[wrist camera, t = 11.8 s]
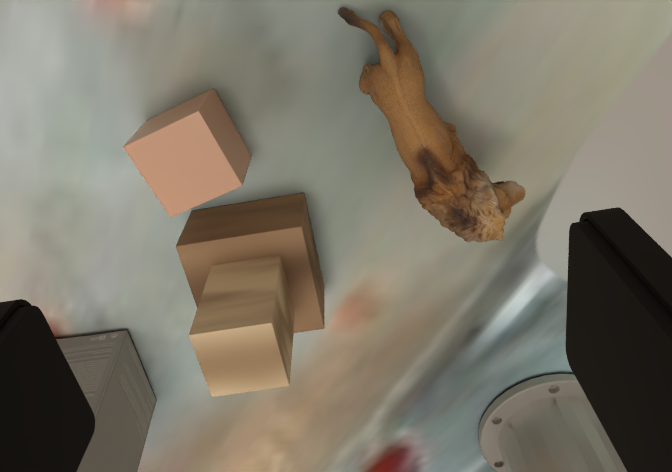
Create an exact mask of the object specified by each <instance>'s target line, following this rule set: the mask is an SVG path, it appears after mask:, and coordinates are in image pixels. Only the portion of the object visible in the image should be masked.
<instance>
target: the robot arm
mask: <svg viewBox="0 0 672 472" xmlns="http://www.w3.org/2000/svg"><path fill="white" fill-rule="evenodd" d="M566 354H567V358H568V362H569V365H570V367H571V369H572V371H573V373H574V374H554V375H545V376H541V377H537V378H533V379H530V380H528V381H525V382H523V383H520V384H518V385H516V386H514V387H513V388H511V389H509V390H507V391H506V392H505V393H503V394H502V395H501V396H499V397H498V398H497V399H496V400H495V401H494V402H493V403H492V404H491V405H490V406H489V408H488V409H487V410H486V412H485V414H484V415H483V417H482V419H481V422H480V425H479V432H478V439H479V444H480V448H481V451H482V454H483V456H484V458H485V460H486V461H487V463H488V464H489V465H490V466H491V467H492V468H493V469H494V470H495V471H496V472H672V258H671V256H670V255H668V254H667V253H666V252H665V251H664V250H663V249H662V248H661V247H660V246H659V245H658V244H657V243H656V242H655V241H654V240H653V239H652V238H651V237H650V236H649V235H648V234H647V233H646V232H645V231H644V230H643V229H642V228H641V227H640V226H639V225H638V224H637V223H636V222H635V221H634V220H633V219H632V218H631V217H630V216H629V215H628V214H627V213H626V212H625V211H624V210H622V209H621V208H611V209H605V210H599V211H592V212H585V213H583V214H582V215H581V218H580V221H579V222H576V223H572V224H571V226H570V231H569V259H568V290H567V322H566ZM94 430H95V416H94V413H93V411H92V409H91V407H90V405H89V403H88V401H87V399H86V397H85V395H84V393H83V391H82V389H81V387H80V385H79V383H78V381H77V379H76V377H75V376H74V374H73V372H72V370H71V368H70V366H69V364H68V362H67V360H66V358H65V356H64V354H63V352H62V350H61V348H60V346H59V344H58V342H57V340H56V338H55V336H54V335H53V333H52V331H51V329H50V327H49V325H48V323H47V321H46V319H45V317H44V315H43V313H42V312H41V310H40V309H39V308H38V307H37V306H31V304H30V303H29V302H27V301H26V300H22V299H20V300H13V301H7V302H0V472H77V470H78V467H79V465H80V463H81V461H82V458H83V456H84V454H85V452H86V449H87V447H88V445H89V443H90V441H91V438H92V436H93V434H94Z"/></svg>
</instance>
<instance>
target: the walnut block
mask: <svg viewBox="0 0 672 472" xmlns="http://www.w3.org/2000/svg"><path fill="white" fill-rule="evenodd" d="M176 248H177V251H178V254H179V257H180V260H181V263H182V265H183V268H184V271H185V274H186V277H187V280H188V283H189V285H190V288H191V291H192V294H193V297H194V300H195V303H196V305H197V308H198V306H199V302H200V299H201V296H202V293H203V290H204V287H205V284H206V281H207V278H208V275H209V272H210V269H211V266H213V265H219V264H226V263H232V262H238V261H245V260H251V259H257V258H264V257H270V256H276V255H281V259H282V263H283V267H284V271H285V275H286V278H287V282H288V286H289V290H290V294H291V298H292V302H293V306H294V310H295V318H294V331H293V333H297V332H304V331H311V330H318V329H324V284H323V279H322V274H321V270H320V265H319V260H318V256H317V251H316V246H315V242H314V237H313V232H312V228H311V223H310V218H309V214H308V209H307V204H306V200H305V195H304V193H299V194H293V195H287V196H280V197H274V198H268V199H262V200H256V201H249V202H243V203H237V204H231V205H225V206H218V207H212V208H206V209H200V210H194V211H192V212H191V214H190V216H189V218H188V220H187V223H186V225H185V227H184V229H183V232H182V234H181V236H180V238H179V240H178V243H177V245H176Z"/></svg>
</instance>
